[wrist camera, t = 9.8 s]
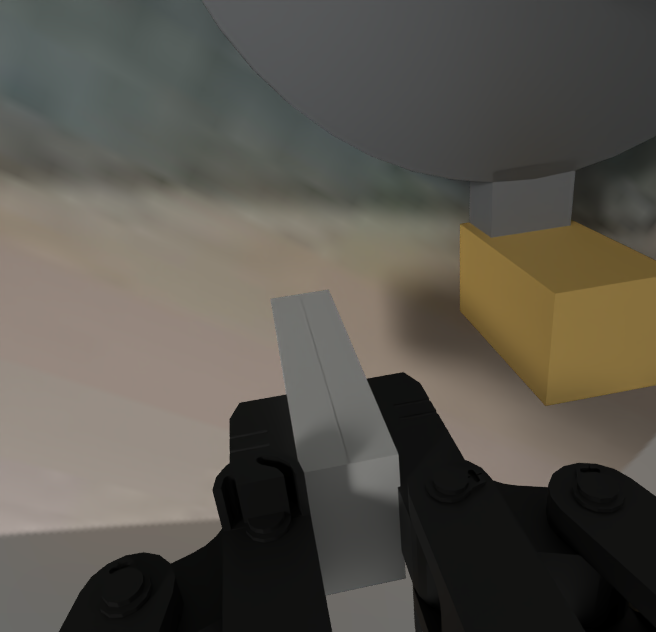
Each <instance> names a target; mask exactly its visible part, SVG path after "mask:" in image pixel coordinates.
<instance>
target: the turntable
mask: <svg viewBox="0 0 656 632" xmlns="http://www.w3.org/2000/svg"><path fill="white" fill-rule="evenodd" d="M201 1H202V2H203V4H204V5H205V7H206V8H207V10H208V12H209V13H210V15H211V16H212V18H213V19H214V21H215V22H216V24H217V26H218V27H219V29H220V30H221V31H222V33H223V34H224V35H225V36H226V37H227V39H228V40H229V41H230V42H231V43H232V45H233V46H234V47H235V48H236V50H237V51H238V52H239V53H240V54H241V56H242V57H243V58H244V59H245V61H246V62H247V63H248V64H249V65H250V67H251V68H252V69H253V70H254V71H255V72H256V73H257V74H258V75H259V76H260V77H261V78H262V79H264V80H265V81H266V82H267V83H268V84H269V85H270V86H271V87H272V88H273V89H274V90H275V91H276V92H277V93H278V94H279V95H280V96H281V97H282V98H283V99H285V100H286V101H287V102H288V103H289V104H290V105H292V106H293V107H294V108H295V109H297V110H298V111H300V112H301V113H302V114H304V115H305V116H306V117H308V118H309V119H311V120H312V121H313V122H315V123H316V124H317V125H319V126H320V127H322V128H323V129H324V130H326V131H327V132H328V133H330V134H331V135H333V136H335V137H337V138H338V139H340V140H342V141H344V142H346V143H348V144H350V145H351V146H353V147H355V148H357V149H359V150H361V151H363V152H365V153H366V154H368V155H370V156H372V157H375V158H378V159H380V160H383V161H386V162H389V163H391V164H394V165H397V166H399V167H402V168H405V169H408V170H410V171H414V172H419V173H423V174H428V175H433V176H438V177H442V178H447V179H452V180H465V181H470V214H469V223H463V224H460V311H461V313H462V314H463V315H464V316H465V317H466V318H467V319H468V320H469V321H470V323H471V324H472V325H473V326H474V327H475V328H476V329H477V330H478V331H479V333H480V334H481V335H482V336H483V337H484V338H485V339H486V340H487V341H488V343H489V344H490V345H491V346H492V347H493V348H494V349H495V350H496V351H497V353H498V354H499V355H500V356H501V357H502V358H503V359H504V360H505V361H506V363H507V364H508V365H509V366H510V367H511V368H512V369H513V370H514V371H515V373H516V374H517V375H518V376H519V377H520V378H521V379H522V380H523V381H524V383H525V384H526V385H527V386H528V387H529V388H530V389H531V390H532V391H533V393H534V394H535V395H536V396H537V397H538V398H539V399H540V400H541V401H542V403H543V404H544V405H545V406H548V405H554V404H559V403H564V402H570V401H575V400H580V399H585V398H591V397H596V396H601V395H607V394H612V393H617V392H623V391H628V390H633V389H638V388H644V387H649V386H654V385H656V260H653V259H651V258H649V257H647V256H645V255H643V254H641V253H639V252H637V251H635V250H633V249H631V248H629V247H627V246H625V245H623V244H620V243H618V242H616V241H614V240H612V239H610V238H608V237H606V236H604V235H602V234H600V233H598V232H596V231H594V230H592V229H590V228H587V227H585V226H583V225H581V224H579V223H577V222H575V221H573V220H571V214H572V203H573V193H574V182H575V171H576V170H578V169H581V168H583V167H586V166H589V165H592V164H595V163H598V162H600V161H603V160H606V159H609V158H612V157H615V156H617V155H619V154H621V153H623V152H625V151H627V150H629V149H631V148H633V147H635V146H637V145H639V144H641V143H643V142H645V141H647V140H649V139H651V138H653V137H655V136H656V0H201Z"/></svg>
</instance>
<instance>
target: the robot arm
mask: <svg viewBox="0 0 656 632" xmlns="http://www.w3.org/2000/svg"><path fill="white" fill-rule="evenodd" d="M271 304H272V310H273V317H274V323H275V329H276V335H277V341H278V347H279V354H280V360H281V366H282V372H283V378H284V385H285V391H286V395H281V396H276V397H270V398H264V399H259V400H253V401H247V402H242V403H239V405H238V406H237V408H236V410H235V411H234V413H233V414H232V416H231V418H230V464H228V465H226V466H225V468H224V469H223V470H222V471H221V472H220V473H219V475H218V476H217V477H216V480H215V483H214V487H213V494H214V498H215V502H216V506H217V510H218V514H219V518H220V521H221V525H222V530H221V531H220V532H219V533H218V535H217V536H216V537H215V538H214V539H213V540H211V541H210V542H209V543H208V544H207V545H206V546H204V547H202V548H201V549H199V550H197V551H196V552H194V553H192V554H190V555H188V556H186V557H184V558H182V559H180V560H178V561H175V562H173V563H171V564H170V563H169V562H168V561H166V560H165V559H164V558H162V557H161V556H160V555H156V554H150V553H138V554H132V555H126V556H124V557H122V558H119V559H117V560H115V561H113V562H111V563H109V564H107V565H106V566H105V567H103V568H102V569H101V570H99V571H98V572H97V573H96V574H95V575H93V576H92V577H91V578H90V580H89V581H88V582H87V584H86V585H85V586H84V588H83V589H82V590H81V592H80V593H79V595H78V597H77V599H76V601H75V603H74V605H73V606H72V608H71V610H70V612H69V614H68V616H67V618H66V620H65V621H64V623H63V625H62V627H61V629H60V631H59V632H332V629H331V623H330V618H329V612H328V608H327V601H326V595H331V594H335V593H340V592H345V591H349V590H354V589H358V588H363V587H367V586H373V585H377V584H382V583H387V582H391V581H396V580H400V579H405V578H406V576H405V562H406V565H407V568H408V571H409V574H410V577H411V580H412V582H413V599H414V619H415V630H416V632H422V631H423V632H656V496H654V495H653V494H652V493H650V492H649V491H648V490H646V489H645V488H643V487H642V486H641V485H639V484H638V483H637V482H635V481H634V480H633V479H631V478H629V477H627V476H626V475H624V474H622V473H621V472H619V471H617V470H615V469H613V468H609V467H606V466H602V465H598V464H590V463H576V464H572V465H567V466H563V467H562V468H560V469H559V470H558V471H556V472H555V473H553V475H552V477H551V480H550V482H549V485H548V487H533V486H516V485H509V484H503V483H499V482H496V481H493V480H492V479H491V477H490V476H489V475H488V474H487V473H486V472H485V471H484V470H483V469H482V468H481V467H479V466H477V465H475V464H473V463H471V462H469V461H467V460H465V459H464V458H463V456H462V454H461V452H460V451H459V449H458V447H457V446H456V444H455V442H454V440H453V439H452V437H451V435H450V434H449V432H448V430H447V428H446V427H445V425H444V423H443V422H442V420H441V418H440V416H439V415H438V414H437V413H436V409H435V408H434V406H433V404H432V403H431V401H429V397H428V396H427V394H426V392H425V391H424V389H423V387H422V385H421V384H420V383H419V382H417V381H416V380H414V379H413V378H411V377H410V376H408V375H407V374H405V373H404V372H402V373H397V374H391V375H385V376H380V377H374V378H368V379H366V377H365V374H364V372H363V370H362V367H361V365H360V362H359V360H358V358H357V355H356V353H355V351H354V348H353V346H352V344H351V341H350V339H349V337H348V334H347V332H346V329H345V327H344V325H343V322H342V320H341V318H340V315H339V313H338V311H337V308H336V306H335V304H334V301H333V299H332V296H331V294H330V292H329V290H323V291H317V292H310V293H304V294H298V295H292V296H285V297H279V298H273V299H271Z"/></svg>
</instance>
